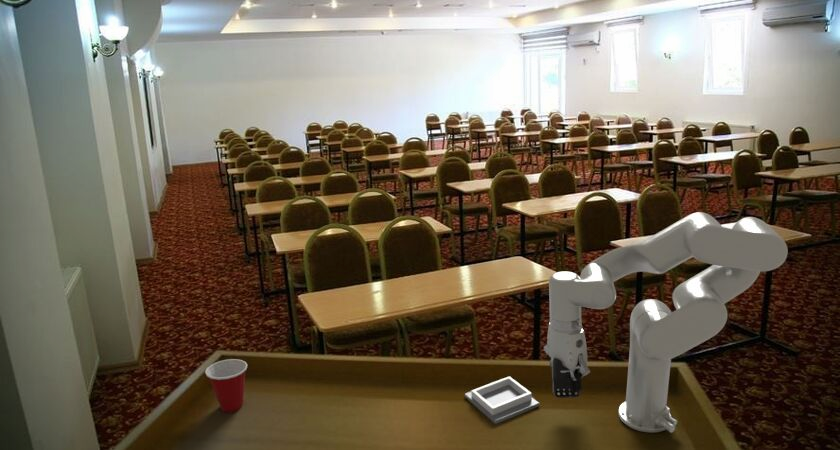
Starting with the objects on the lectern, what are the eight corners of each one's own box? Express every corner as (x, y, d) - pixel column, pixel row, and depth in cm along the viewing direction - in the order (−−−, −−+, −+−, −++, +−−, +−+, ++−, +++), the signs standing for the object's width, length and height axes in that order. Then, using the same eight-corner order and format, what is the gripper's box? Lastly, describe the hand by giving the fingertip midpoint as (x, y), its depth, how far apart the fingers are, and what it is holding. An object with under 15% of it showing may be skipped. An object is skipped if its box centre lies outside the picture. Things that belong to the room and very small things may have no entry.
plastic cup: (258, 394, 173) (253, 356, 169) (244, 418, 163) (238, 378, 159) (221, 393, 174) (214, 356, 170) (204, 417, 164) (197, 377, 160)
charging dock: (539, 406, 163) (539, 396, 162) (495, 424, 156) (495, 414, 155) (506, 381, 174) (506, 371, 173) (464, 396, 168) (464, 387, 167)
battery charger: (553, 400, 157) (553, 361, 153) (552, 391, 160) (551, 353, 156) (582, 399, 156) (582, 360, 152) (579, 390, 160) (579, 352, 156)
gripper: (602, 330, 146) (602, 396, 152) (553, 305, 161) (554, 366, 166) (578, 340, 143) (579, 407, 148) (530, 313, 157) (532, 375, 163)
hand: (566, 384), depth 157 cm, fingers closed on battery charger, 6 cm apart
